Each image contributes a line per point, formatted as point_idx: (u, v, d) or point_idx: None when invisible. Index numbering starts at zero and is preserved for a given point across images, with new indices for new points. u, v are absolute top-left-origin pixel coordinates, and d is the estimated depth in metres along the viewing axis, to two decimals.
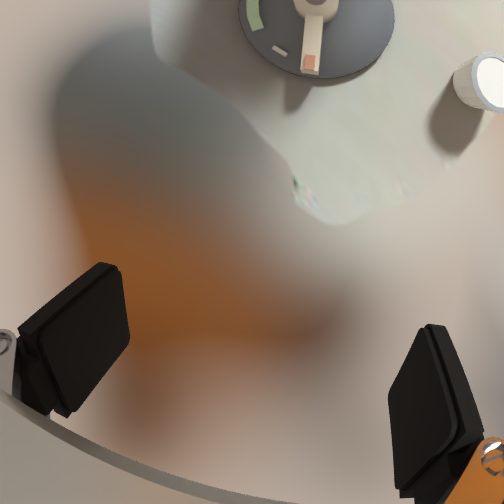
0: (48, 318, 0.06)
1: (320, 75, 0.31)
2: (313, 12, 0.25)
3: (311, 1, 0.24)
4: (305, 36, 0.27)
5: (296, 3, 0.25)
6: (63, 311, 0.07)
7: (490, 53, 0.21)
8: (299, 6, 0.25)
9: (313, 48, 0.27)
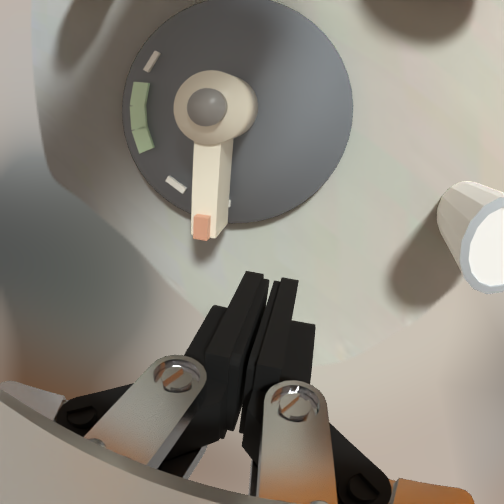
0: (237, 336, 0.07)
1: (232, 220, 0.25)
2: (204, 140, 0.19)
3: (198, 123, 0.18)
4: (195, 182, 0.21)
5: (179, 124, 0.19)
6: (244, 326, 0.07)
7: None
8: (184, 130, 0.19)
9: (207, 203, 0.21)
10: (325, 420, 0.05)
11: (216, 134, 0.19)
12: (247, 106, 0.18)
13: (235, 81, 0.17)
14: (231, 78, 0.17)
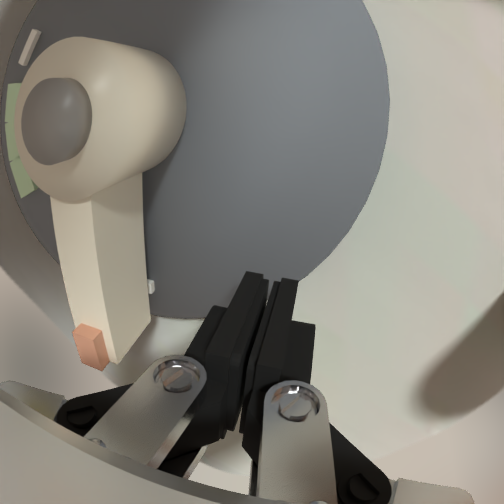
0: (238, 336, 0.07)
1: (160, 312, 0.14)
2: (62, 193, 0.08)
3: (39, 158, 0.07)
4: (65, 271, 0.10)
5: (24, 160, 0.08)
6: (244, 327, 0.07)
7: None
8: (31, 171, 0.08)
9: (91, 309, 0.10)
10: (325, 420, 0.05)
11: (78, 179, 0.08)
12: (133, 107, 0.07)
13: (106, 52, 0.06)
14: (99, 47, 0.06)
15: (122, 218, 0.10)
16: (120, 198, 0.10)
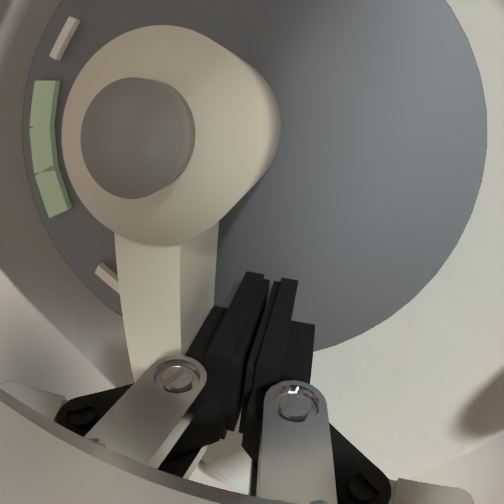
0: (238, 336, 0.07)
1: None
2: (137, 233, 0.07)
3: (111, 188, 0.06)
4: (129, 322, 0.08)
5: (76, 183, 0.07)
6: (245, 327, 0.07)
7: None
8: (87, 199, 0.07)
9: None
10: (325, 420, 0.05)
11: (165, 218, 0.07)
12: (258, 135, 0.06)
13: (221, 53, 0.05)
14: (209, 45, 0.05)
15: (202, 260, 0.09)
16: (203, 237, 0.09)
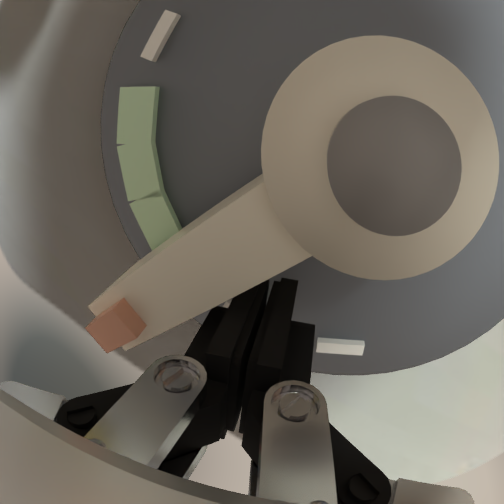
0: (238, 336, 0.07)
1: (361, 371, 0.12)
2: (290, 216, 0.06)
3: (336, 179, 0.05)
4: (170, 255, 0.07)
5: (278, 108, 0.05)
6: (244, 327, 0.07)
7: None
8: (273, 133, 0.06)
9: (159, 306, 0.08)
10: (325, 420, 0.05)
11: (330, 235, 0.06)
12: None
13: (492, 192, 0.05)
14: (494, 176, 0.05)
15: None
16: None
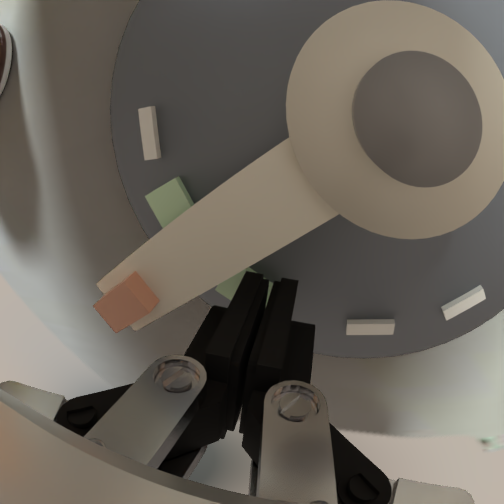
0: (237, 336, 0.07)
1: (492, 313, 0.10)
2: (316, 171, 0.06)
3: (364, 129, 0.05)
4: (188, 220, 0.07)
5: (302, 64, 0.05)
6: (244, 327, 0.07)
7: None
8: (297, 88, 0.05)
9: (174, 277, 0.08)
10: (325, 420, 0.05)
11: (357, 191, 0.06)
12: None
13: None
14: None
15: None
16: None
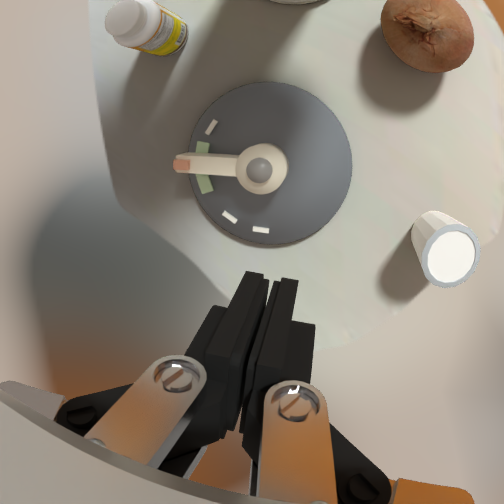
0: (237, 336, 0.07)
1: (269, 242, 0.37)
2: (237, 167, 0.30)
3: (248, 166, 0.30)
4: (210, 158, 0.31)
5: (248, 149, 0.29)
6: (244, 327, 0.07)
7: (450, 226, 0.26)
8: (244, 152, 0.30)
9: (197, 166, 0.31)
10: (325, 420, 0.05)
11: (242, 174, 0.31)
12: (260, 193, 0.31)
13: (276, 187, 0.30)
14: (278, 185, 0.30)
15: None
16: None
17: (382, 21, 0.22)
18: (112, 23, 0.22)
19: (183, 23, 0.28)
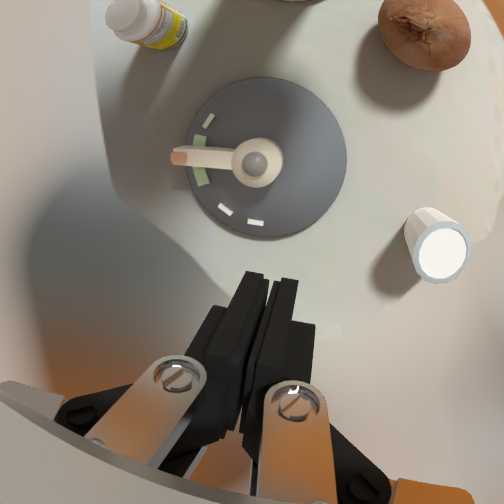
0: (237, 336, 0.07)
1: (264, 235, 0.37)
2: (233, 160, 0.31)
3: (243, 159, 0.30)
4: (206, 151, 0.31)
5: (244, 143, 0.30)
6: (244, 326, 0.07)
7: (442, 223, 0.27)
8: (240, 146, 0.30)
9: (194, 159, 0.32)
10: (325, 420, 0.05)
11: (237, 168, 0.31)
12: None
13: (271, 181, 0.31)
14: (273, 178, 0.31)
15: None
16: None
17: (379, 20, 0.22)
18: (112, 18, 0.22)
19: (183, 18, 0.28)
